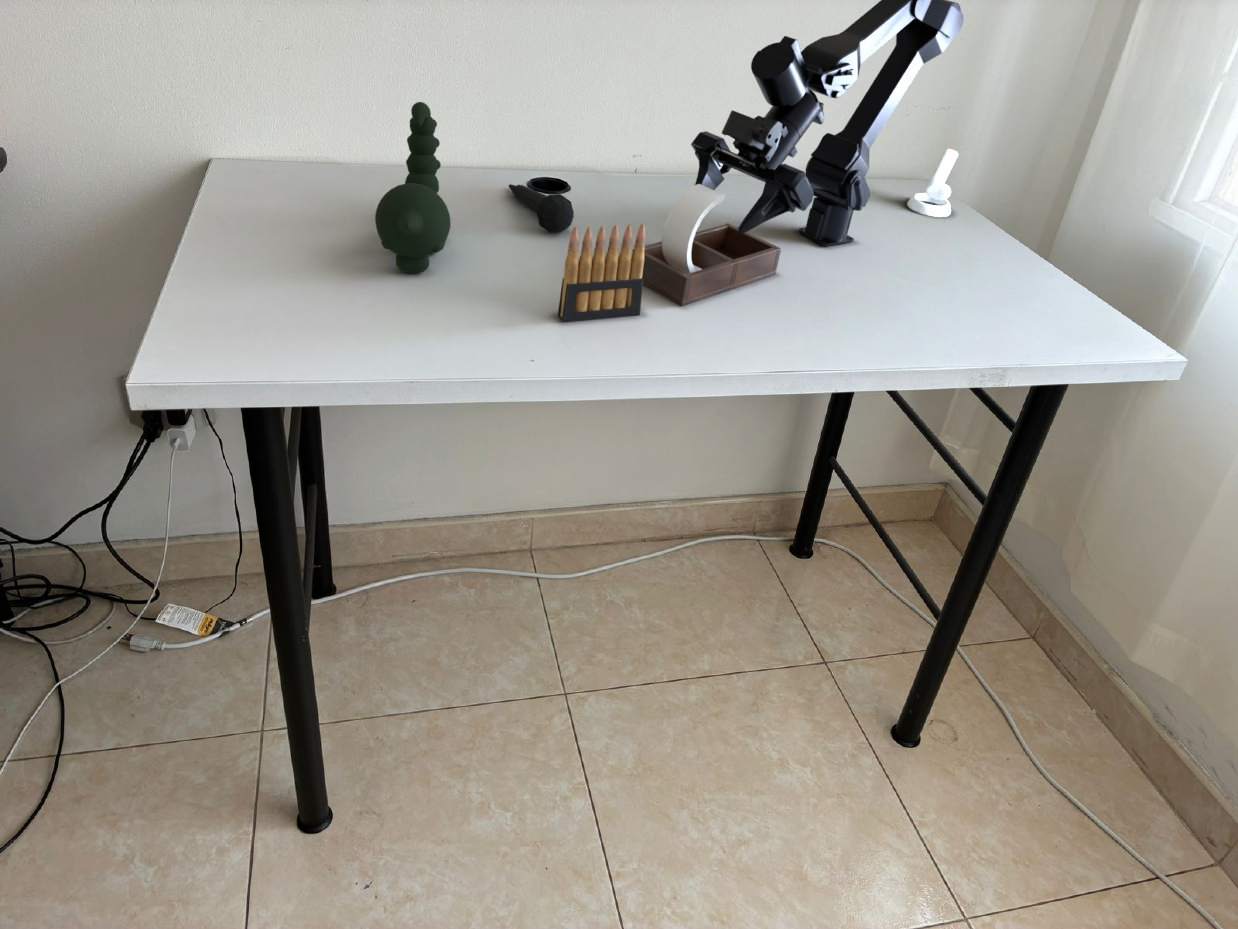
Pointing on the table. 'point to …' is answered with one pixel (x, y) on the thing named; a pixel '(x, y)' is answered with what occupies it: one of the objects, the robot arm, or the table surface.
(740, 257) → the divided wooden tray
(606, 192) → the table surface
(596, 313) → the ammunition clip
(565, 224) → the microphone
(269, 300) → the table surface
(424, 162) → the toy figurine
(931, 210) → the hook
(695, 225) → the headphone stand
